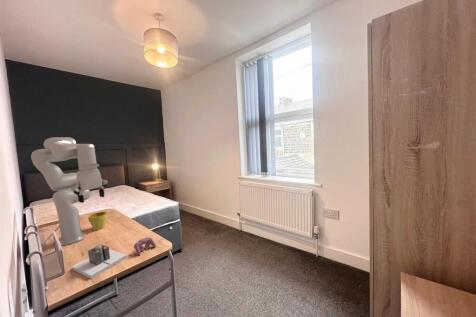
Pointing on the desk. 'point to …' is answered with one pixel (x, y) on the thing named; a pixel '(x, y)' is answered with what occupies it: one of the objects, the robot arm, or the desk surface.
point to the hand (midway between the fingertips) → (92, 199)
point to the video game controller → (146, 241)
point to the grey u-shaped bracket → (98, 255)
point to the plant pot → (98, 220)
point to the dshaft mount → (93, 270)
